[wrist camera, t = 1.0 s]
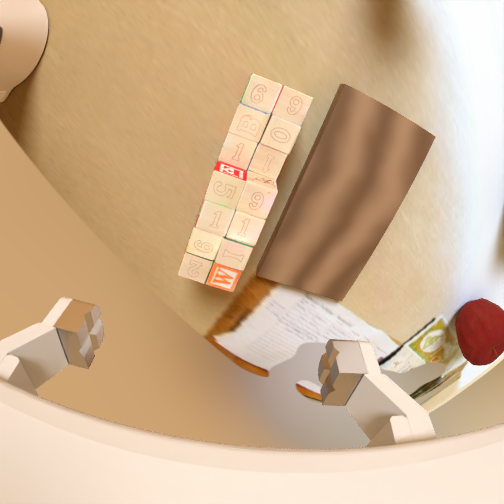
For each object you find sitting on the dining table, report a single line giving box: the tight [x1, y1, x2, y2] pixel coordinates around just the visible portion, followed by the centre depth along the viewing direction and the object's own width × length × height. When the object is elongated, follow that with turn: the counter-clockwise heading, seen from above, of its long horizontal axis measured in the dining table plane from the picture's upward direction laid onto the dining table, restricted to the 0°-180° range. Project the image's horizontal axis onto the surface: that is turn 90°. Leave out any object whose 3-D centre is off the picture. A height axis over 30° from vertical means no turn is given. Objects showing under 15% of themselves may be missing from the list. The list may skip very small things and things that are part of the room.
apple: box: [455, 298, 504, 366], centre depth 47 cm, size 12×12×13 cm
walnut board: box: [257, 84, 435, 301], centre depth 40 cm, size 14×28×2 cm, turn 159°
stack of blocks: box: [178, 74, 313, 292], centre depth 33 cm, size 21×6×12 cm, turn 158°
